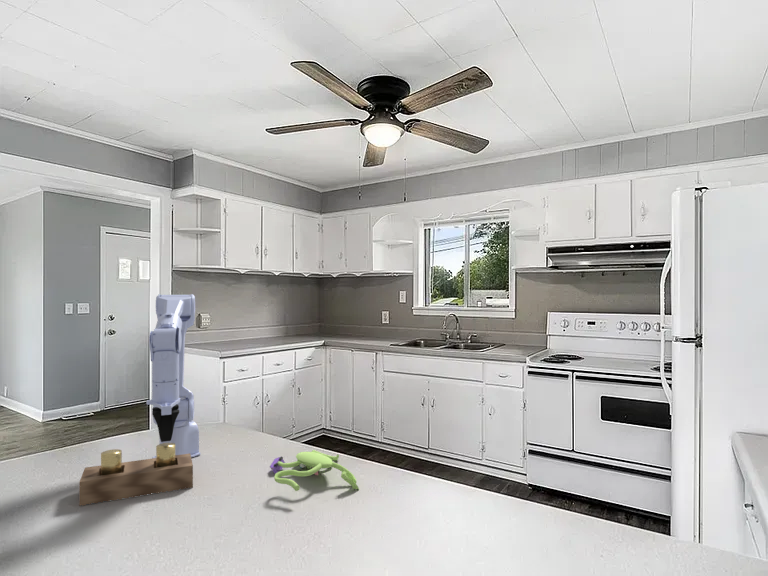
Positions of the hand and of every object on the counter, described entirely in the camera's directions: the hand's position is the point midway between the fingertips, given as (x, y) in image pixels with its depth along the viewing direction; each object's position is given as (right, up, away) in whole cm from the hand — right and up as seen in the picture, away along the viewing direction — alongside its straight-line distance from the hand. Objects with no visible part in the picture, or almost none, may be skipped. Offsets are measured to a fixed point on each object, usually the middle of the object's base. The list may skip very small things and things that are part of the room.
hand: (165, 439), depth 113 cm
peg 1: (-10, -6, -5) cm, 13 cm away
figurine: (+33, -11, +3) cm, 35 cm away
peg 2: (0, -6, 0) cm, 6 cm away
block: (-5, -10, -2) cm, 12 cm away
